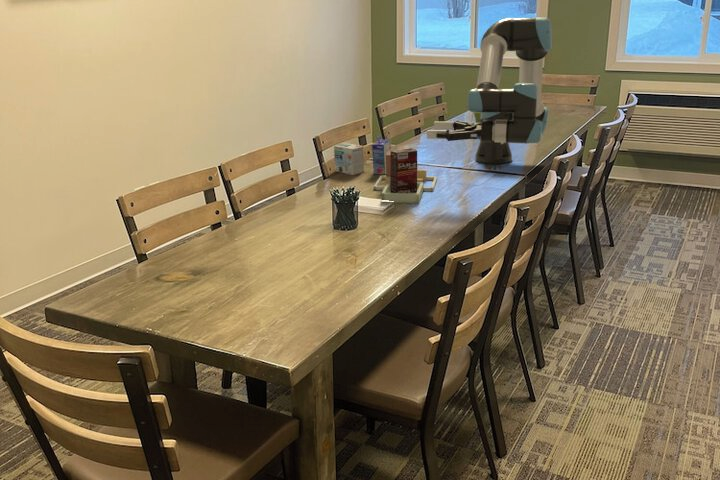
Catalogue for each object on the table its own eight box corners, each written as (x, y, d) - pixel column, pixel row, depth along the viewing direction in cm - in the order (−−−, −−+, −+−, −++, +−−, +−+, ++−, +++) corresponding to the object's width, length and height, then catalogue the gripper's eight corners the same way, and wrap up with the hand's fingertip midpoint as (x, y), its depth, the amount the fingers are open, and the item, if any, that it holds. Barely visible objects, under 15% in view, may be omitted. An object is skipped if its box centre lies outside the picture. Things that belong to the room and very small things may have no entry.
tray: (423, 191, 248) (423, 182, 247) (418, 203, 234) (418, 194, 233) (388, 190, 251) (387, 181, 249) (381, 202, 237) (381, 193, 236)
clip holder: (437, 179, 263) (437, 169, 261) (433, 191, 248) (433, 180, 246) (380, 178, 267) (380, 168, 265) (373, 189, 252) (373, 179, 251)
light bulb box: (334, 171, 280) (333, 145, 276) (345, 168, 284) (344, 142, 281) (353, 175, 273) (352, 148, 269) (364, 171, 277) (363, 145, 274)
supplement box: (397, 198, 238) (396, 153, 233) (390, 194, 242) (389, 150, 237) (418, 194, 242) (418, 150, 236) (411, 191, 246) (410, 147, 241)
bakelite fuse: (399, 182, 261) (398, 151, 256) (396, 186, 255) (396, 155, 251) (388, 182, 261) (388, 151, 257) (386, 186, 256) (385, 155, 252)
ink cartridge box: (379, 168, 282) (378, 133, 277) (392, 168, 281) (392, 133, 276) (372, 174, 274) (371, 138, 269) (385, 174, 272) (384, 138, 267)
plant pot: (500, 132, 342) (500, 109, 338) (491, 136, 333) (491, 113, 329) (478, 130, 348) (478, 108, 344) (468, 134, 339) (469, 112, 335)
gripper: (489, 151, 218) (424, 149, 224) (496, 133, 240) (437, 132, 246) (490, 128, 215) (423, 126, 221) (497, 112, 237) (437, 111, 243)
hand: (430, 129), depth 233 cm, fingers open, 13 cm apart
